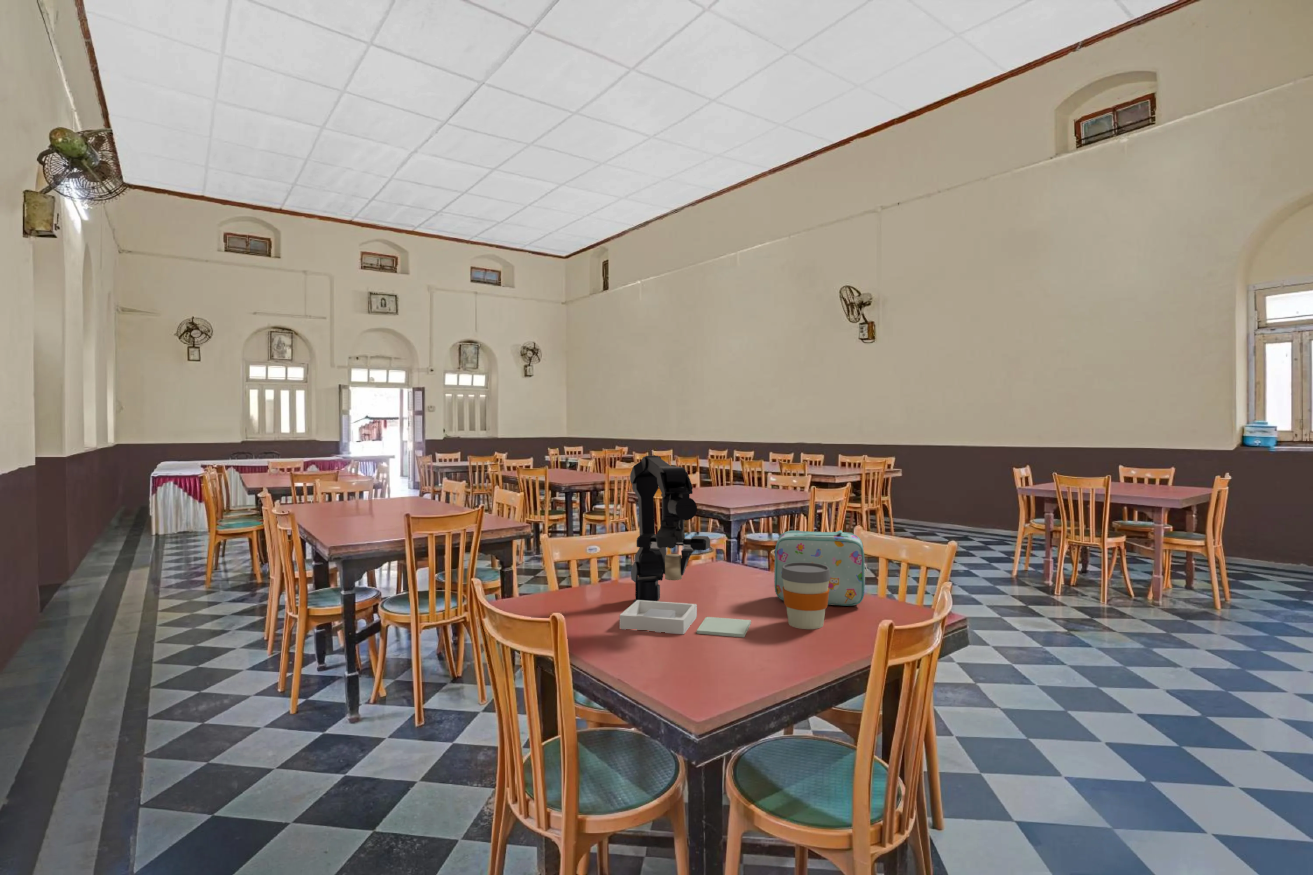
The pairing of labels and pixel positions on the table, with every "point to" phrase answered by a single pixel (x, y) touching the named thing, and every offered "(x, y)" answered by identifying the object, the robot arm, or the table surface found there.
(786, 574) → the reusable coffee cup
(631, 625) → the tray
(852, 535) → the lunch box
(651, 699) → the table surface
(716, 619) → the green pad
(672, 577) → the birch cylinder
